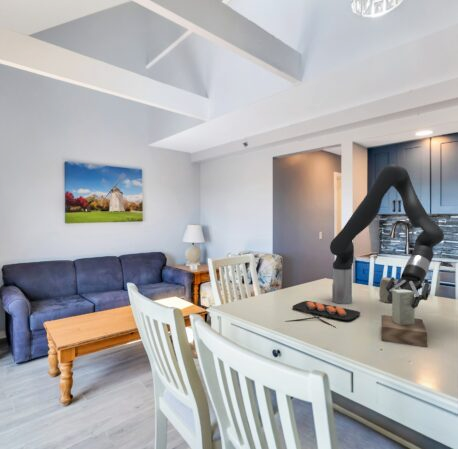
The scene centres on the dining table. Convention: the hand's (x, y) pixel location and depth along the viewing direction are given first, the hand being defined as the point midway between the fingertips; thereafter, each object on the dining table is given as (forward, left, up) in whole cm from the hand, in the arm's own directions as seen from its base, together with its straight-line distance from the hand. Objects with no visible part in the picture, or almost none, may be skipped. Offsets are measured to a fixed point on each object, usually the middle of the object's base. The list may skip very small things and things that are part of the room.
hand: (400, 304), depth 116 cm
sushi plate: (-32, +12, -13) cm, 37 cm away
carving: (-3, +48, -12) cm, 50 cm away
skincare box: (+1, +1, -7) cm, 8 cm away
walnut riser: (+1, +1, -12) cm, 12 cm away
